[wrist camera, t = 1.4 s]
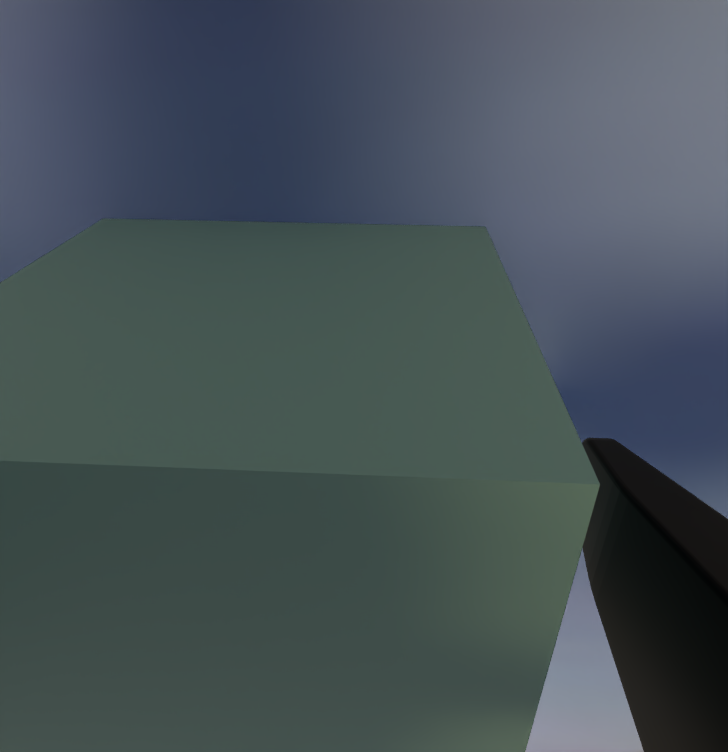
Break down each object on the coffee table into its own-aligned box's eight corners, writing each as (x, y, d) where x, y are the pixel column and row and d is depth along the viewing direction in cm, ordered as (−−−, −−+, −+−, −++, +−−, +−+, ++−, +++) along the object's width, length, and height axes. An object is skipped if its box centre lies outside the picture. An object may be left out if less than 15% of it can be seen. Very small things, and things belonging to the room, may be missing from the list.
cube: (484, 225, 9) (599, 485, 4) (452, 511, 12) (491, 870, 7) (104, 217, 9) (-269, 450, 4) (167, 499, 12) (1, 837, 7)
